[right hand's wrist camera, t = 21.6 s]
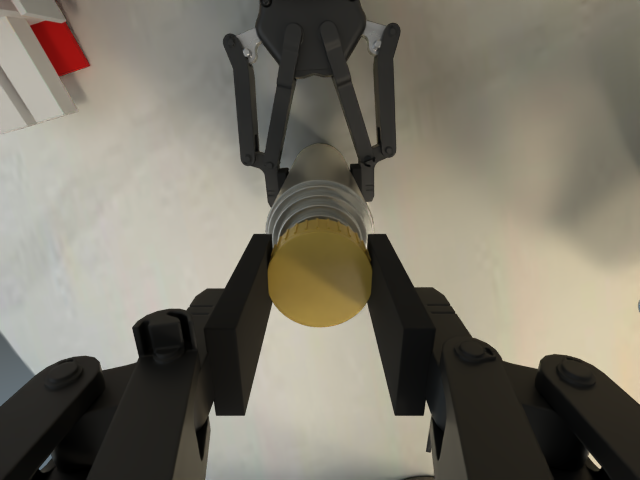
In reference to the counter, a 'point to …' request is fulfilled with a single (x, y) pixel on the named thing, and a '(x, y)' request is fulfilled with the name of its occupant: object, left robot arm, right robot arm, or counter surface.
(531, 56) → the counter surface
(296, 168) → the bottle
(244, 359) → the right robot arm
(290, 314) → the cap
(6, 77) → the toy
